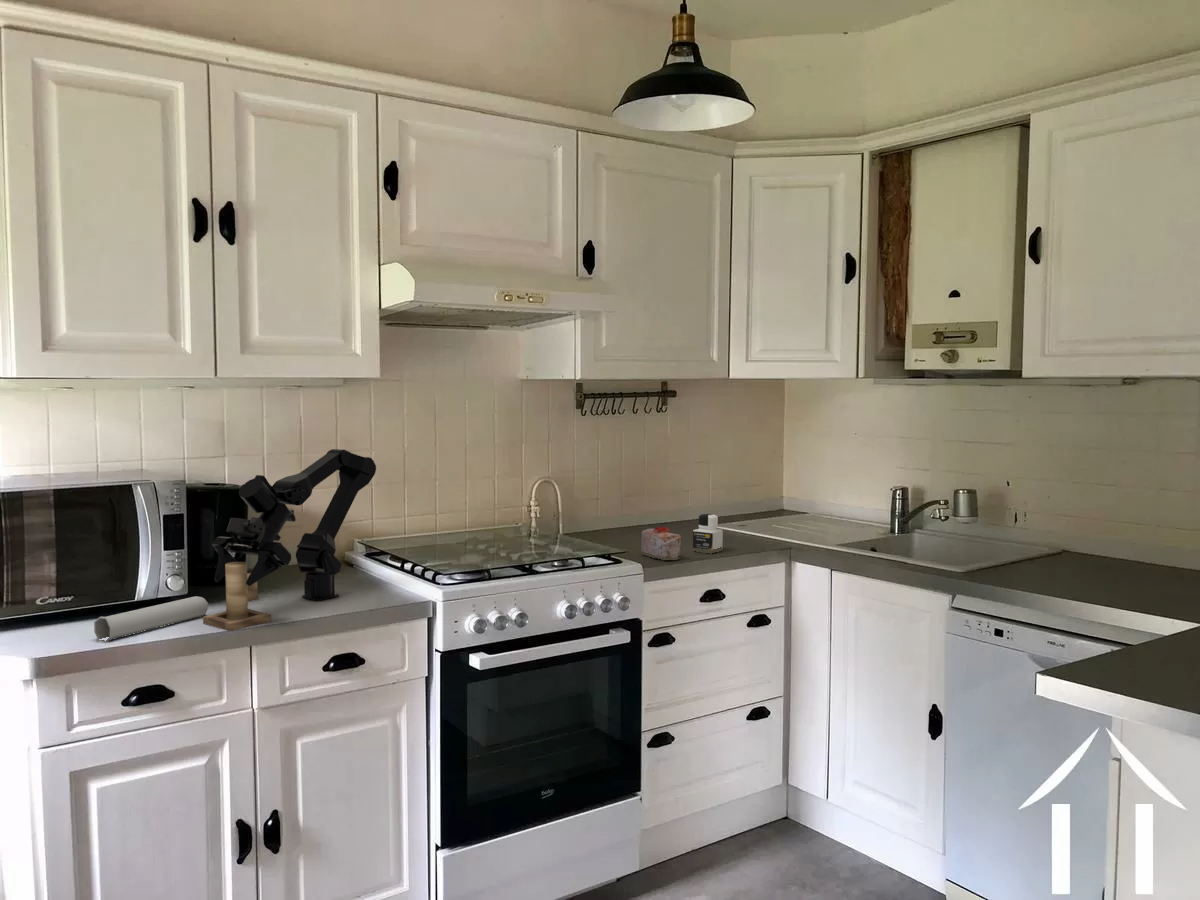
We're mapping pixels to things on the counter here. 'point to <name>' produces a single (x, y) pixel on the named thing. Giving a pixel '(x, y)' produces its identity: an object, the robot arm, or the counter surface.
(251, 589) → the walnut stub
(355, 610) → the counter surface
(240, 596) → the oak dowel
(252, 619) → the hole plate
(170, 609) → the tube
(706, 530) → the medicine bottle
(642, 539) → the food item
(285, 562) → the robot arm
